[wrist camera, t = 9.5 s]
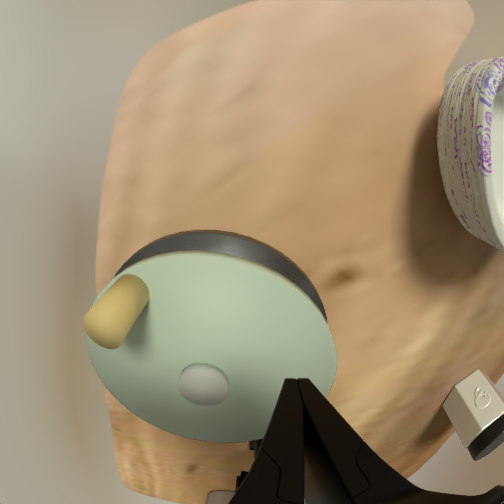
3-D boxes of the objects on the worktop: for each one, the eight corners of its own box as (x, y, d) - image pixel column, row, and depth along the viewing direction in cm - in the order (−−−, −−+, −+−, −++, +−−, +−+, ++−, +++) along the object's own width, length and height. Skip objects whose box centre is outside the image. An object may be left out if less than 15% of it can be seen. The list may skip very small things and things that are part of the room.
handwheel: (356, 254, 17) (394, 298, 11) (310, 433, 24) (317, 477, 18) (68, 246, 17) (19, 279, 11) (125, 419, 23) (110, 458, 18)
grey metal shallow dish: (301, 410, 27) (305, 434, 24) (128, 392, 27) (119, 414, 24) (347, 241, 20) (364, 258, 17) (96, 222, 20) (72, 235, 17)
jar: (488, 359, 26) (527, 410, 15) (483, 386, 29) (514, 433, 18) (441, 392, 28) (475, 453, 17) (441, 415, 30) (467, 468, 19)
